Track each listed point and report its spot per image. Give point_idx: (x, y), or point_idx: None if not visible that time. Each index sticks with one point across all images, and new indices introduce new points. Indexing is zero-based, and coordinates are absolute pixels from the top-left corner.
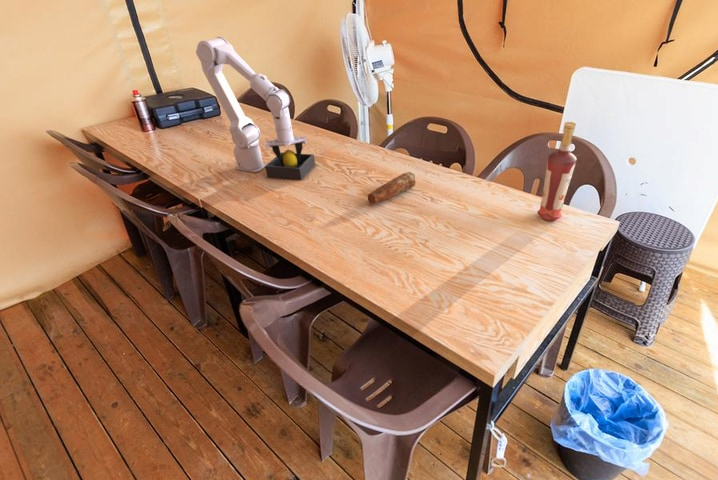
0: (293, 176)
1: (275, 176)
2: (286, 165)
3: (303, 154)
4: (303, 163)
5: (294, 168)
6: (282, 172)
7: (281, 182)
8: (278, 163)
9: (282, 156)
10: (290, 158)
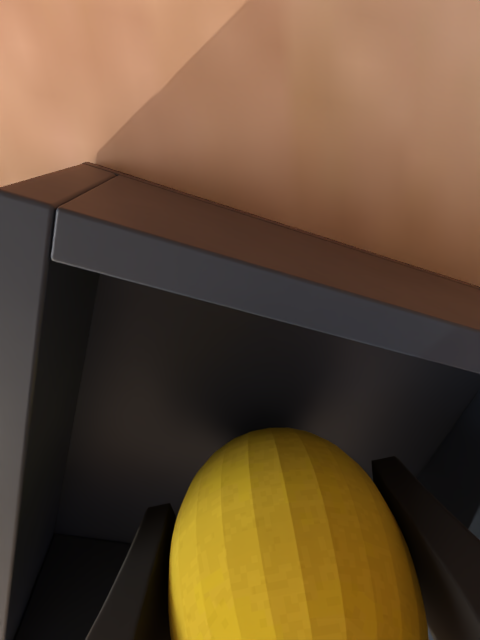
0: (209, 210)
1: (466, 287)
2: (333, 454)
3: None
4: (5, 452)
5: (140, 230)
6: (394, 277)
7: (390, 119)
8: None
9: (427, 631)
10: (266, 575)
